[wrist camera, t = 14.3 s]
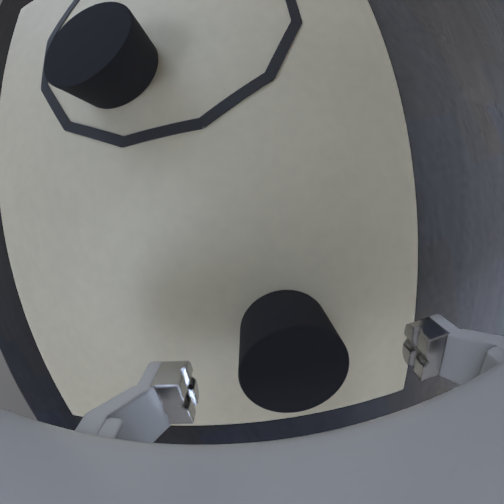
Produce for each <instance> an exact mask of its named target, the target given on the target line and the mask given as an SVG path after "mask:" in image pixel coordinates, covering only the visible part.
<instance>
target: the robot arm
mask: <svg viewBox="0 0 504 504" xmlns="http://www.w3.org/2000/svg"><path fill="white" fill-rule="evenodd" d="M404 335H405V336H406V338H407V339H406V340H405V342H404V343H403V349H402V352H403V358H404V360H405V362H406V363H407V365H408V366H411V367H414V371H413V372H414V373H415V374H416V376H417V377H418V378H419V379H420V381H424V380H427V379H429V378H432V377H435V376H437V375H439V376H440V377H443V378H445V379H447V380H449V381H451V382H454V383H456V384H458V385H460V386H458V387H456V388H454V389H451V390H449V391H447V392H445V393H443V394H441V395H438V396H436V397H434V398H431V399H429V400H427V401H424V402H422V403H419V404H417V405H414V406H411V407H409V408H406V409H403V410H400V411H398V412H395V413H392V414H389V415H386V416H383V417H379V418H376V419H373V420H370V421H366V422H363V423H359V424H355V425H352V426H348V427H344V428H340V429H335V430H331V431H326V432H322V433H317V434H311V435H306V436H300V437H294V438H287V439H280V440H272V441H264V442H253V443H240V444H220V445H180V444H161V443H153V442H154V441H155V440H156V439H157V438H158V437H159V436H160V435H161V434H162V433H163V432H164V431H165V430H166V429H167V428H168V427H169V426H170V425H171V424H193V422H194V418H195V413H196V410H195V407H194V406H195V405H196V404H197V403H198V400H199V389H198V384H197V381H196V379H195V378H194V377H192V372H193V368H192V365H191V363H190V362H189V361H164V362H163V361H157V362H150V363H149V364H148V366H147V368H146V369H145V371H144V373H143V375H142V377H141V379H140V381H139V382H138V384H137V386H132V387H131V388H129V389H127V390H125V391H124V392H122V393H120V394H119V395H117V396H115V397H113V398H112V399H110V400H108V401H107V402H105V403H103V404H101V405H100V406H98V407H96V408H94V409H92V410H91V411H89V412H87V413H86V414H85V416H84V417H83V419H82V420H81V422H80V423H79V425H78V426H77V428H76V430H75V431H73V430H69V429H65V428H61V427H57V426H54V425H50V424H47V423H43V422H40V421H37V420H33V419H30V418H27V417H24V416H22V415H19V414H17V413H14V412H11V411H9V410H5V409H1V410H0V504H504V336H500V335H495V334H489V333H484V332H478V331H473V330H468V329H461V330H460V329H459V328H457V327H456V326H455V325H453V324H452V323H451V322H449V321H448V320H447V319H445V318H444V317H442V316H441V315H440V314H435V315H433V316H430V317H427V318H425V319H422V320H419V321H415V322H412V323H409V324H406V327H405V331H404Z"/></svg>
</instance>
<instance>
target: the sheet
mask: <svg viewBox="0 0 504 504" xmlns="http://www.w3.org/2000/svg"><path fill="white" fill-rule="evenodd" d="M103 2H118V3H121V4H124V5H125V6H127V7H128V8H129V9H130V11H131V12H132V14H133V15H134V17H135V18H136V19H137V21H138V22H139V24H140V25H141V27H142V28H143V30H144V31H145V33H146V34H147V35H148V37H149V38H150V40H151V41H152V43H153V44H154V46H155V48H156V49H157V52H158V67H157V70H156V73H155V76H154V78H153V79H152V81H151V83H150V84H149V85H148V87H147V88H146V89H145V90H144V91H143V92H142V93H141V94H140V95H139V96H138V97H137V98H135V99H134V100H132V101H131V102H129V103H127V104H125V105H123V106H120V107H117V108H112V109H102V108H98V107H95V106H93V105H91V104H89V103H87V102H85V101H83V100H81V99H79V98H77V97H75V96H73V95H71V94H69V93H67V92H65V91H63V90H61V89H58V88H56V87H54V86H52V85H51V84H50V83H49V82H48V81H47V79H46V77H45V73H44V60H45V56H46V53H47V50H48V48H49V46H50V44H51V42H52V40H53V39H54V37H55V35H56V34H57V33H58V31H59V30H60V29H61V28H62V27H63V26H64V25H65V24H66V23H67V22H68V21H69V20H70V19H71V18H72V17H74V16H75V15H76V14H78V13H79V12H81V11H82V10H84V9H86V8H88V7H90V6H93V5H95V4H99V3H103ZM0 208H1V216H2V223H3V229H4V235H5V241H6V246H7V251H8V255H9V260H10V264H11V268H12V272H13V276H14V280H15V284H16V287H17V290H18V294H19V297H20V300H21V303H22V306H23V309H24V312H25V315H26V318H27V321H28V324H29V326H30V329H31V332H32V334H33V337H34V339H35V341H36V344H37V346H38V349H39V351H40V353H41V355H42V358H43V360H44V362H45V364H46V366H47V368H48V370H49V372H50V374H51V376H52V378H53V380H54V382H55V384H56V386H57V388H58V390H59V392H60V393H61V395H62V397H63V399H64V401H65V402H66V404H67V406H68V407H69V409H70V411H71V412H72V414H73V415H77V416H82V417H84V416H85V414H86V413H87V412H89V411H91V410H92V409H94V408H96V407H98V406H100V405H101V404H103V403H105V402H107V401H108V400H110V399H112V398H113V397H115V396H117V395H119V394H120V393H122V392H124V391H125V390H127V389H129V388H131V387H132V386H137V384H138V382H139V381H140V379H141V377H142V375H143V373H144V371H145V369H146V368H147V366H148V364H149V363H150V362H157V361H163V362H164V361H189V362H190V363H191V365H192V368H193V372H192V377H194V378H195V379H196V381H197V384H198V389H199V400H198V403H197V404H196V405H195V406H194V407H195V410H196V413H195V418H194V422H193V424H171V425H186V426H189V425H224V424H239V423H250V422H260V421H269V420H276V419H283V418H290V417H296V416H302V415H308V414H313V413H318V412H323V411H328V410H332V409H337V408H341V407H345V406H349V405H353V404H357V403H361V402H364V401H368V400H371V399H375V398H378V397H381V396H385V395H388V394H391V393H394V392H397V391H400V390H403V388H404V383H405V378H406V373H407V367H408V365H407V363H406V362H405V360H404V358H403V352H402V349H403V343H404V342H405V340H406V339H407V338H406V336H405V335H404V331H405V327H406V324H409V323H412V322H414V317H415V306H416V293H417V272H418V228H417V207H416V193H415V182H414V173H413V165H412V157H411V150H410V144H409V138H408V132H407V127H406V121H405V116H404V112H403V107H402V103H401V98H400V94H399V90H398V86H397V83H396V79H395V75H394V72H393V68H392V65H391V62H390V58H389V55H388V52H387V49H386V46H385V43H384V40H383V38H382V35H381V32H380V29H379V27H378V24H377V22H376V19H375V17H374V14H373V12H372V9H371V7H370V5H369V3H368V0H33V1H32V2H31V3H29V4H28V5H26V6H25V7H23V8H22V9H21V11H20V14H19V17H18V20H17V23H16V27H15V30H14V33H13V37H12V40H11V44H10V48H9V52H8V57H7V61H6V66H5V72H4V77H3V83H2V90H1V98H0ZM279 290H295V291H300V292H303V293H305V294H308V295H309V296H311V297H313V298H314V299H315V300H316V301H317V302H318V303H319V304H320V305H321V307H322V308H323V310H324V312H325V313H326V315H327V316H328V318H329V320H330V321H331V323H332V325H333V326H334V328H335V329H336V331H337V333H338V334H339V336H340V338H341V339H342V341H343V343H344V344H345V346H346V348H347V351H348V354H349V370H348V374H347V376H346V379H345V381H344V383H343V384H342V386H341V387H340V388H339V390H338V391H337V392H336V393H335V394H334V395H333V396H332V397H331V398H329V399H328V400H327V401H325V402H324V403H322V404H320V405H318V406H316V407H314V408H311V409H308V410H305V411H300V412H294V413H280V412H273V411H269V410H266V409H264V408H261V407H259V406H258V405H256V404H254V403H253V402H252V401H251V400H250V399H249V398H248V397H247V396H246V395H245V393H244V392H243V390H242V388H241V387H240V383H239V379H238V366H239V343H240V325H241V321H242V318H243V316H244V314H245V312H246V311H247V309H248V308H249V307H250V306H251V304H252V303H253V302H255V301H256V300H257V299H259V298H260V297H262V296H264V295H266V294H268V293H271V292H274V291H279Z"/></svg>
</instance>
